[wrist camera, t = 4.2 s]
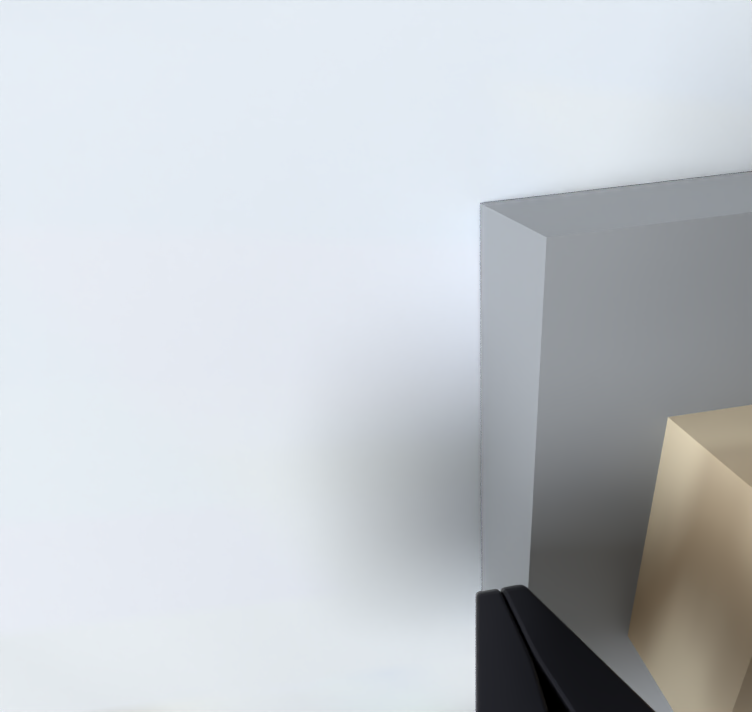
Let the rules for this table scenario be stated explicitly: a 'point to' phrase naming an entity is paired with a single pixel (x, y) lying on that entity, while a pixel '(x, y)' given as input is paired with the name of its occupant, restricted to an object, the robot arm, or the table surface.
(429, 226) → the table surface
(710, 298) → the plate
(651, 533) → the tile
